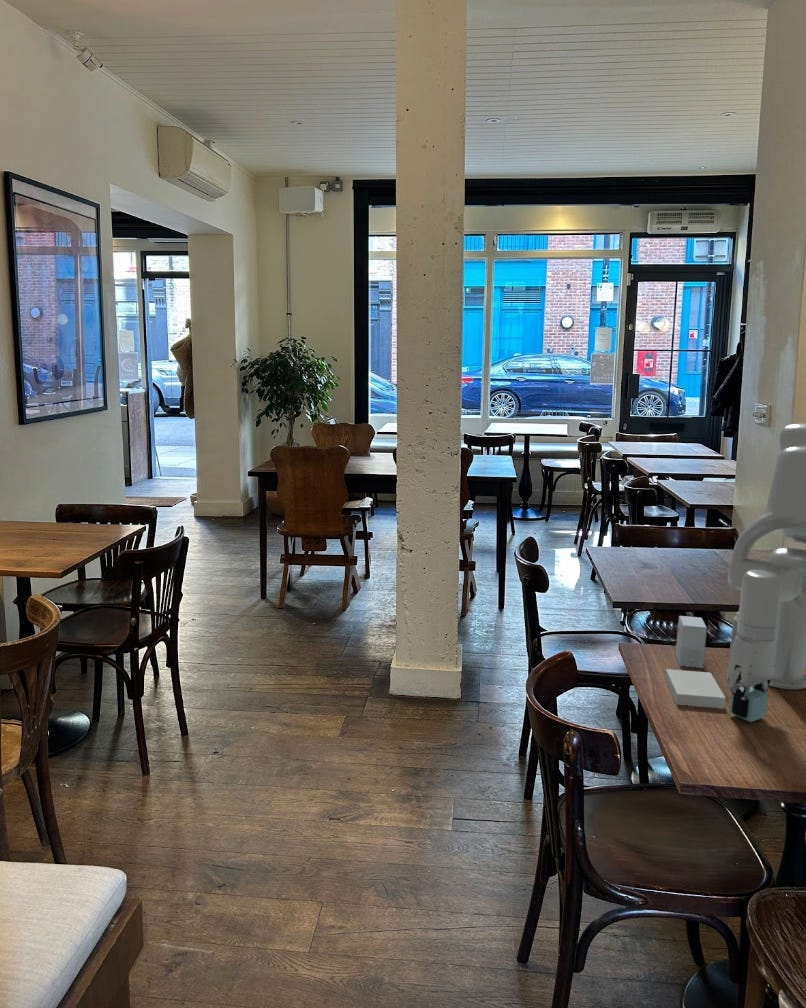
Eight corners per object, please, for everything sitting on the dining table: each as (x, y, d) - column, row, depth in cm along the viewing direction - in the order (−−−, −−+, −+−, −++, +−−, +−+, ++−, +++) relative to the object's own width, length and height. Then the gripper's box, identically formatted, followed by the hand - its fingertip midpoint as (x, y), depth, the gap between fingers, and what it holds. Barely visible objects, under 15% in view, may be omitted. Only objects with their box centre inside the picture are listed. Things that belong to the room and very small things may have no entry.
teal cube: (744, 707, 174) (746, 685, 173) (765, 716, 170) (768, 694, 169) (729, 712, 172) (732, 690, 171) (750, 722, 168) (753, 699, 166)
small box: (703, 669, 197) (707, 627, 195) (679, 666, 198) (683, 625, 196) (698, 657, 205) (702, 617, 203) (675, 654, 206) (678, 615, 204)
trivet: (665, 679, 190) (666, 669, 190) (709, 682, 189) (710, 672, 188) (676, 704, 176) (677, 693, 176) (724, 708, 175) (725, 697, 175)
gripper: (765, 617, 175) (756, 696, 178) (714, 632, 166) (706, 714, 169) (798, 628, 168) (788, 709, 172) (747, 644, 159) (738, 729, 163)
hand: (747, 711), depth 171 cm, fingers closed on teal cube, 5 cm apart
